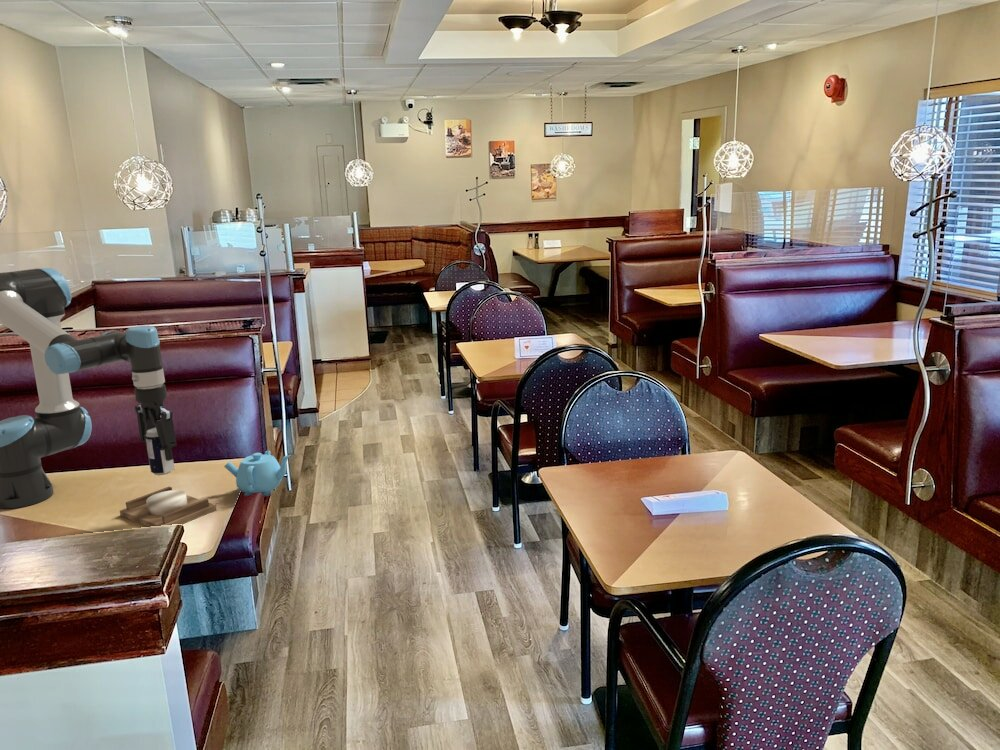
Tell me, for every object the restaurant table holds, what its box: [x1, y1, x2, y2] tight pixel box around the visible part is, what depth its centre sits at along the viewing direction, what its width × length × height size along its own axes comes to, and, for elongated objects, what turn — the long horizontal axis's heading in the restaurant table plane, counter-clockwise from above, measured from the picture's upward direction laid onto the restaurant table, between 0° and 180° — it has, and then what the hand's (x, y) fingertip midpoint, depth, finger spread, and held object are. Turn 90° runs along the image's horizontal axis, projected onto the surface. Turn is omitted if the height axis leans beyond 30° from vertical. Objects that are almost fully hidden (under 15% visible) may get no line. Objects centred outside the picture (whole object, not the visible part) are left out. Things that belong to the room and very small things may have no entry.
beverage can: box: [144, 428, 172, 476], centre depth 206 cm, size 6×6×12 cm
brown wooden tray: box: [119, 486, 217, 527], centre depth 210 cm, size 20×16×4 cm
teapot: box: [224, 450, 292, 497], centre depth 223 cm, size 15×14×11 cm
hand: (162, 469), depth 207 cm, fingers closed on beverage can, 6 cm apart
